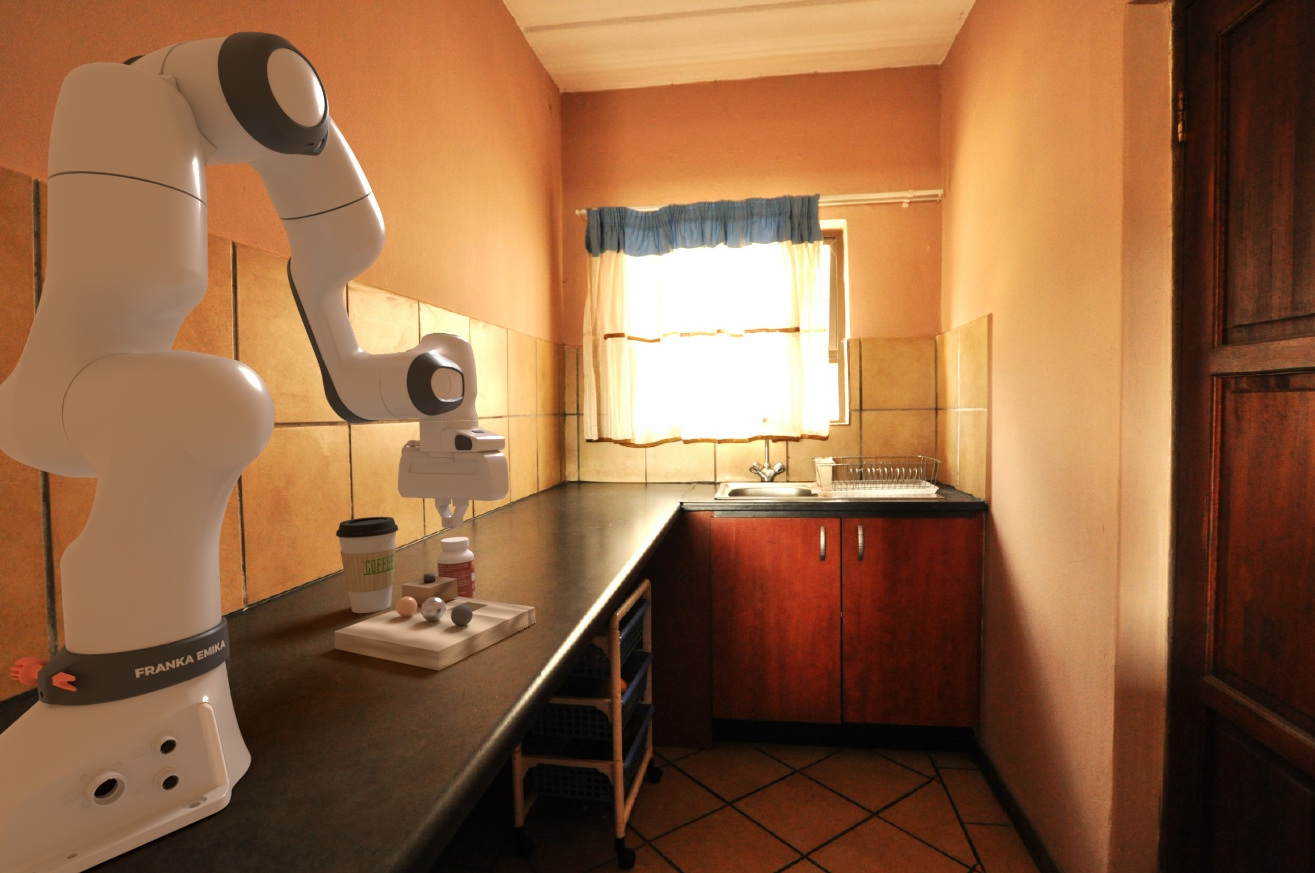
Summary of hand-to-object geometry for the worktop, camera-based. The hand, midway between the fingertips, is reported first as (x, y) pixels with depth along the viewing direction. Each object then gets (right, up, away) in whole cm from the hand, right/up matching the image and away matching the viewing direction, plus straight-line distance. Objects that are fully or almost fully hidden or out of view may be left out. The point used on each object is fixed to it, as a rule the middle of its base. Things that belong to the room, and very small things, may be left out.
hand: (452, 527), depth 103 cm
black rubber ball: (+4, -11, -9) cm, 15 cm away
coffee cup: (-17, -15, +10) cm, 25 cm away
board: (0, -15, -5) cm, 16 cm away
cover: (-5, -12, +3) cm, 14 cm away
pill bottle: (-3, -15, +12) cm, 19 cm away
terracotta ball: (-6, -11, -4) cm, 13 cm away
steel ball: (-1, -11, -6) cm, 13 cm away
